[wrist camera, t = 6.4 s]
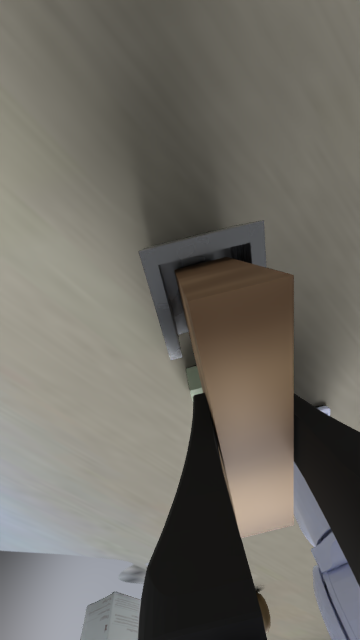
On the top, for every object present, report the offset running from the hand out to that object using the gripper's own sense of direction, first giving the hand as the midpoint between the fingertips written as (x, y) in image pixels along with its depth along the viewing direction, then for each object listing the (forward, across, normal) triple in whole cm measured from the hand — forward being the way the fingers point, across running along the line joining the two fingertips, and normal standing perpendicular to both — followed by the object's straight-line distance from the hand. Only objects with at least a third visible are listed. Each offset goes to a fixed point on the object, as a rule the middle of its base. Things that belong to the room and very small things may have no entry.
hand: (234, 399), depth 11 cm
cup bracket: (+8, 0, -6) cm, 9 cm away
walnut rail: (+3, 0, 0) cm, 3 cm away
